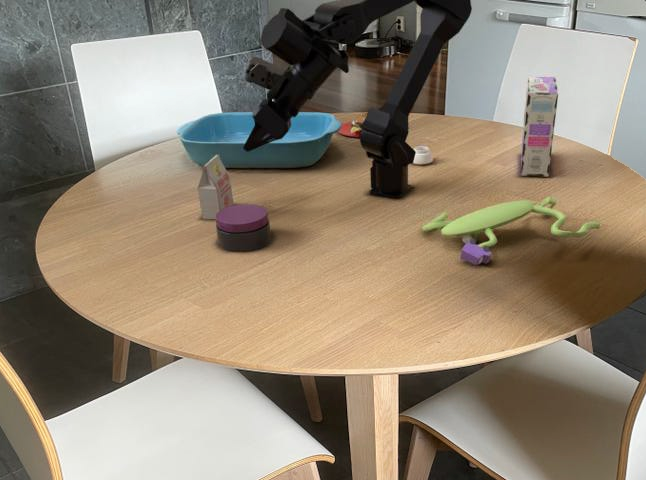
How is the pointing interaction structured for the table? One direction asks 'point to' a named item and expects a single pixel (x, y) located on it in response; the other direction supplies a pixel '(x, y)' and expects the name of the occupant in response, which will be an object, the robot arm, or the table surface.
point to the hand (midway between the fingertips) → (250, 141)
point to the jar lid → (242, 218)
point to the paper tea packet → (214, 189)
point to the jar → (244, 239)
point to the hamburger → (353, 126)
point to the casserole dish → (289, 152)
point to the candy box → (538, 126)
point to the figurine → (497, 225)
